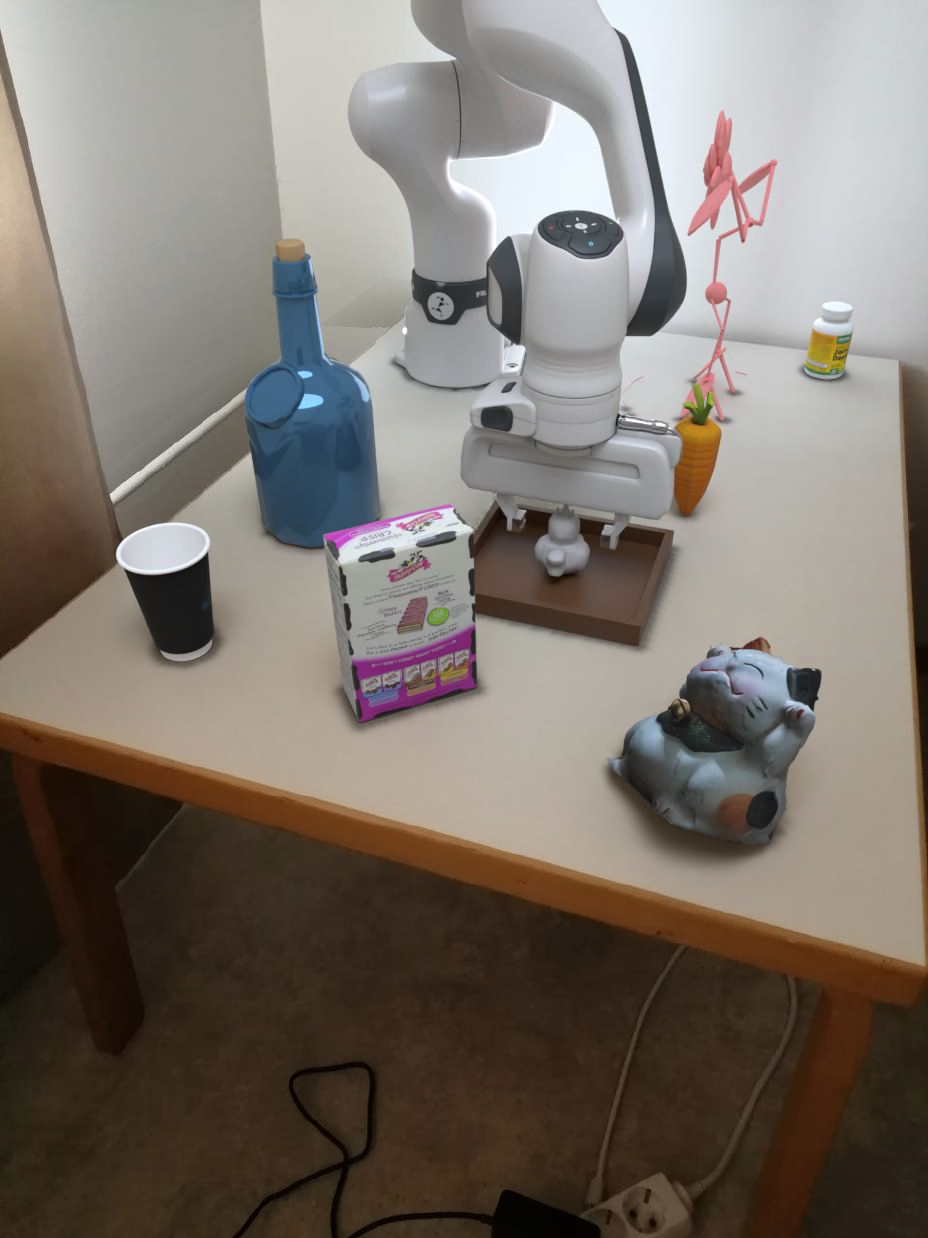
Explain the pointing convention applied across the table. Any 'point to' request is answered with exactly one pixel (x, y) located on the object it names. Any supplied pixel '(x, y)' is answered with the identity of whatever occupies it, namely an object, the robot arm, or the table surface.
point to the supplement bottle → (830, 341)
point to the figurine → (719, 185)
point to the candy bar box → (404, 609)
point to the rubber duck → (562, 544)
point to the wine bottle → (309, 421)
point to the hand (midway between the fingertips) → (562, 537)
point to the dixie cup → (172, 586)
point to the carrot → (696, 452)
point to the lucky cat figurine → (724, 744)
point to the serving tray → (570, 576)
